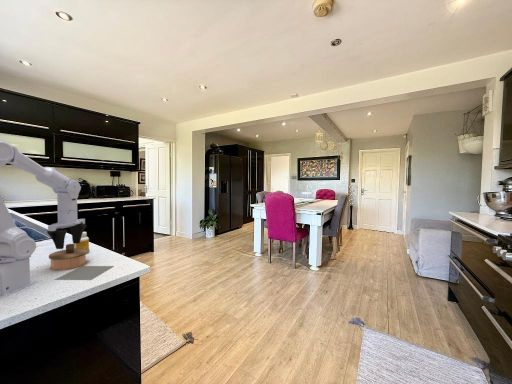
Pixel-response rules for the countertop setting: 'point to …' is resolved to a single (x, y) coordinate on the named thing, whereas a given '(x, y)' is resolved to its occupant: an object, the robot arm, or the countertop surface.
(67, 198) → the robot arm
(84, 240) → the supplement bottle
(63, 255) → the lid
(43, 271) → the countertop surface
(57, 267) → the bowl
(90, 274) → the mat
